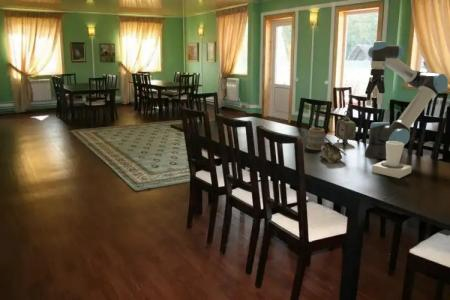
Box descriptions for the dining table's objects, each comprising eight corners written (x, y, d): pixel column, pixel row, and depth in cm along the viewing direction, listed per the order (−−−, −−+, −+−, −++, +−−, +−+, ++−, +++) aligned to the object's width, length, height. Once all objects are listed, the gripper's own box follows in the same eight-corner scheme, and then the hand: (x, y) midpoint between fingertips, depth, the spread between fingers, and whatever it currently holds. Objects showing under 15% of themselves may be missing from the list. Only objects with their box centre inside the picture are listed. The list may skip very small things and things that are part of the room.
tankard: (326, 150, 277) (327, 129, 273) (308, 149, 277) (309, 129, 273) (320, 144, 296) (321, 124, 293) (303, 143, 296) (304, 124, 293)
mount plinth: (371, 171, 226) (372, 164, 225) (384, 166, 237) (384, 159, 236) (399, 178, 215) (400, 170, 214) (411, 172, 226) (412, 165, 225)
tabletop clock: (334, 141, 305) (337, 109, 299) (345, 141, 307) (347, 109, 302) (344, 145, 292) (347, 112, 286) (355, 145, 294) (358, 112, 288)
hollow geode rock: (325, 160, 269) (311, 144, 267) (340, 148, 266) (326, 131, 265) (332, 170, 241) (316, 152, 240) (349, 157, 239) (333, 139, 237)
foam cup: (400, 163, 228) (403, 141, 225) (401, 167, 219) (404, 145, 216) (383, 162, 231) (385, 140, 228) (383, 166, 222) (386, 143, 219)
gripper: (373, 69, 219) (369, 107, 224) (393, 68, 235) (389, 103, 240) (361, 68, 224) (357, 105, 229) (381, 68, 241) (377, 102, 246)
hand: (373, 104), depth 235 cm, fingers open, 13 cm apart
